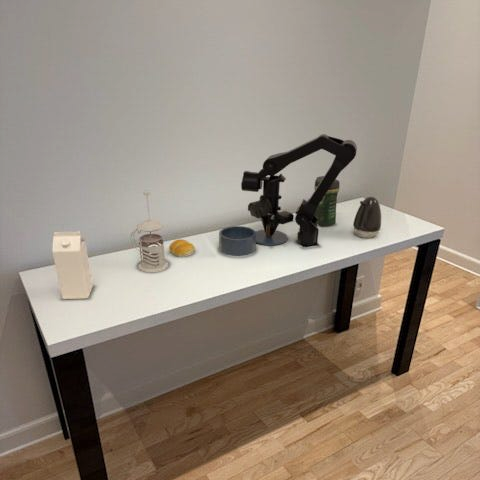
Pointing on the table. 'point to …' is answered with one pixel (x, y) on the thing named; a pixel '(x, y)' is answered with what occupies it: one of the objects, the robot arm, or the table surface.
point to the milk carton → (72, 265)
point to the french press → (151, 260)
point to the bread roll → (182, 248)
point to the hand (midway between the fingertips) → (269, 234)
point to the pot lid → (270, 237)
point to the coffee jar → (327, 204)
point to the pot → (237, 241)
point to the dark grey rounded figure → (368, 218)
